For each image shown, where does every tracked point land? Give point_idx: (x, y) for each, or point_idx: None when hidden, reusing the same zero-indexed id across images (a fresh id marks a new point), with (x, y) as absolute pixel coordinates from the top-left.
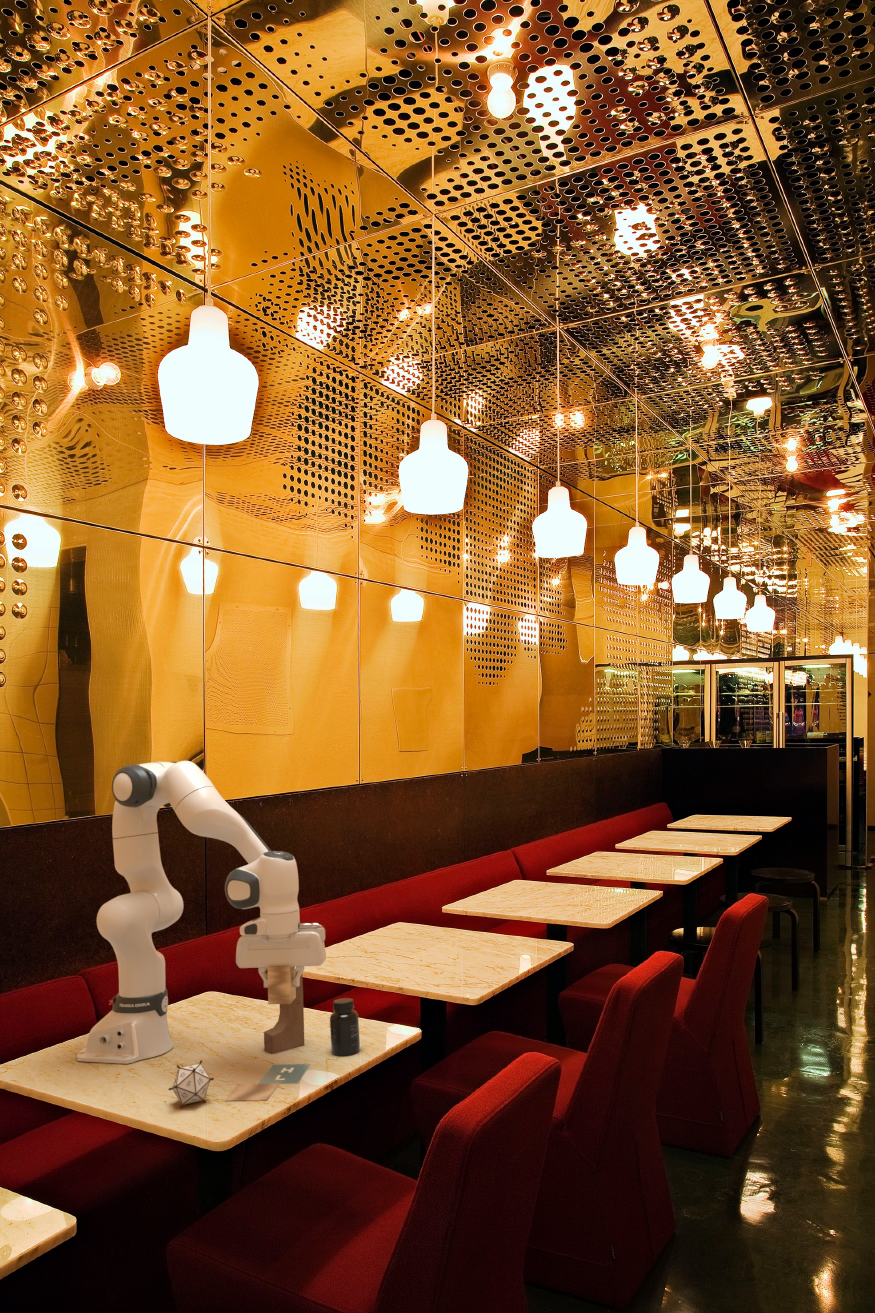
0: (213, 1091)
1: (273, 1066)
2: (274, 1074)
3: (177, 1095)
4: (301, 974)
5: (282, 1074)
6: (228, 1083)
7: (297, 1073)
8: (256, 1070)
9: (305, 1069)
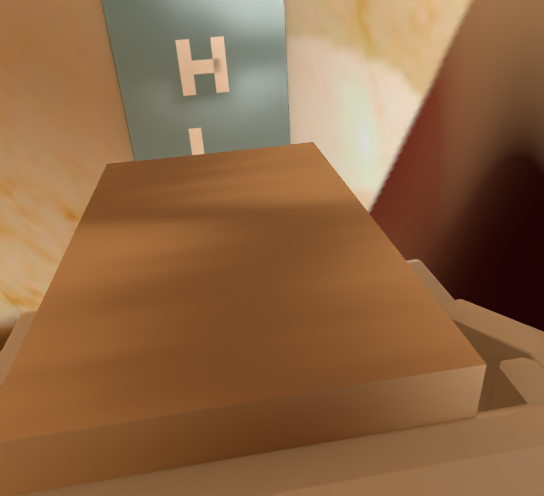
0: (14, 274)
1: (116, 19)
2: (169, 121)
3: None
4: (496, 317)
5: (202, 118)
6: (21, 204)
7: (261, 105)
8: (52, 56)
9: (279, 55)
